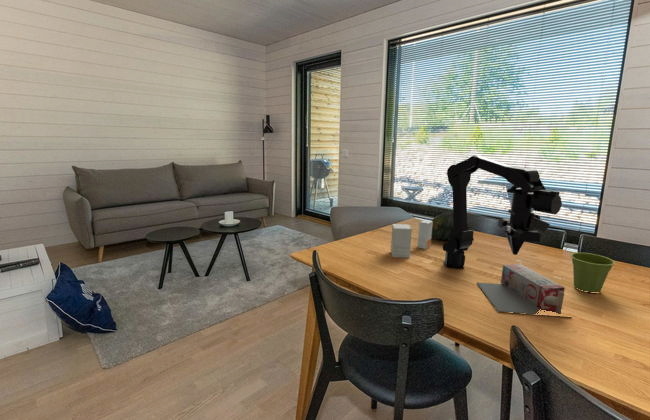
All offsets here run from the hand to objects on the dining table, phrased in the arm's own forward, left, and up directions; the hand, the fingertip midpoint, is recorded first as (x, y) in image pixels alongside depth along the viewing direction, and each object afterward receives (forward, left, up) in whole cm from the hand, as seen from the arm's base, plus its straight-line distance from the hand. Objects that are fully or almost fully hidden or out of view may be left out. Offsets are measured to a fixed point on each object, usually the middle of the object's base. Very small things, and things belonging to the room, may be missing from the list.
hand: (514, 254), depth 114 cm
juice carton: (+1, +4, -8) cm, 9 cm away
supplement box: (-34, +28, -12) cm, 46 cm away
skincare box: (-22, +41, -12) cm, 48 cm away
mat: (0, -8, -12) cm, 14 cm away
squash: (-10, +56, -12) cm, 58 cm away
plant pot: (+26, +4, -12) cm, 29 cm away
